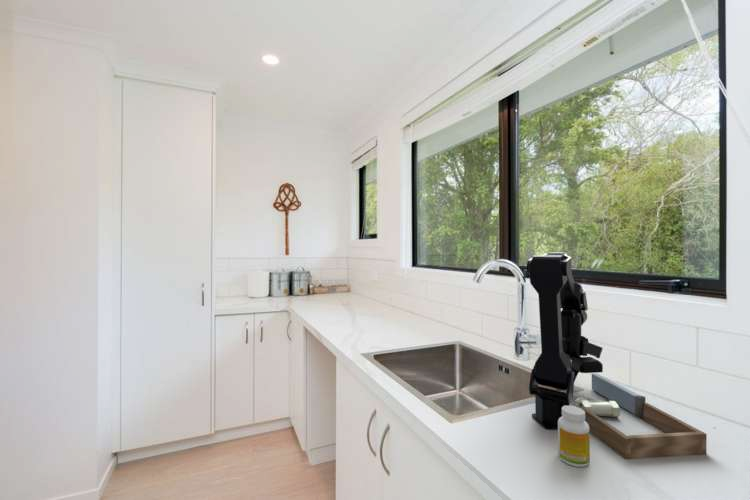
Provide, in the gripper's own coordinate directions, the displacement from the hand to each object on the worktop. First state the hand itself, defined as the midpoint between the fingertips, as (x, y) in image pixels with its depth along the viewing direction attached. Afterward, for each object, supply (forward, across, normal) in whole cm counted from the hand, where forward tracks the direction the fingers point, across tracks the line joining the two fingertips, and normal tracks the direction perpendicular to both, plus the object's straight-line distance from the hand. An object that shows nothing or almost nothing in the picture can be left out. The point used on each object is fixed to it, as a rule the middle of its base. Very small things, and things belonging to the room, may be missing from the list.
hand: (569, 386), depth 99 cm
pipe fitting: (+2, -12, +1) cm, 12 cm away
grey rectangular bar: (+1, -6, -8) cm, 10 cm away
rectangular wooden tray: (+2, -22, 0) cm, 22 cm away
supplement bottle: (+2, -29, +18) cm, 34 cm away
